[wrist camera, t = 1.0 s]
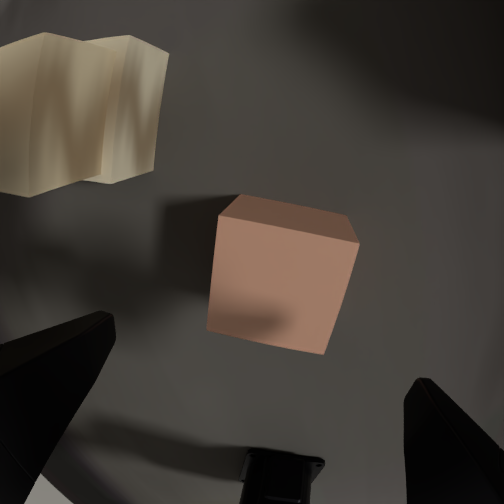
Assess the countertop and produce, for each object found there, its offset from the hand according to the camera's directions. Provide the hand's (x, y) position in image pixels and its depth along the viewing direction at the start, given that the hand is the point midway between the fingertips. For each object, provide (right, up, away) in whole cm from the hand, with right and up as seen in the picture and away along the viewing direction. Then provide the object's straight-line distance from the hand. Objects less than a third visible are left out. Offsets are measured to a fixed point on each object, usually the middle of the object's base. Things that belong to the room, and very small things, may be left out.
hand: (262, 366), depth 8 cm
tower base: (-8, +10, +6) cm, 14 cm away
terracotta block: (+1, +3, +7) cm, 8 cm away
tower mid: (-8, +9, +2) cm, 12 cm away
